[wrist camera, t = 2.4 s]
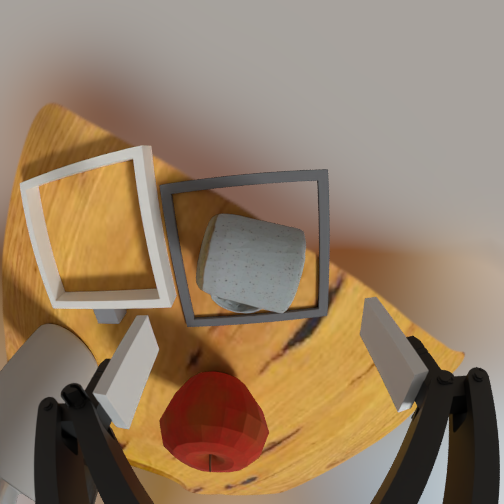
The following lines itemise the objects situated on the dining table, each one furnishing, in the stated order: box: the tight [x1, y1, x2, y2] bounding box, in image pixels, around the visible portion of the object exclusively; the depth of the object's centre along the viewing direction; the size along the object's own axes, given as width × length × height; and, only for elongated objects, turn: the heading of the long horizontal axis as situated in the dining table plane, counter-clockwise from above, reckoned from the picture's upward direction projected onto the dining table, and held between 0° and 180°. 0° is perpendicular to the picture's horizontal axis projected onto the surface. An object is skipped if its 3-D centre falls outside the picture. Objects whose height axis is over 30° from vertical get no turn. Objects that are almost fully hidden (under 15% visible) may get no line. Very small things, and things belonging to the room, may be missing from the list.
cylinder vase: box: [0, 324, 98, 501], centre depth 21 cm, size 12×12×25 cm
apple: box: [159, 371, 269, 472], centre depth 27 cm, size 12×12×14 cm
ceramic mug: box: [196, 214, 306, 313], centre depth 24 cm, size 11×8×8 cm
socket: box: [20, 145, 177, 324], centre depth 26 cm, size 17×18×2 cm
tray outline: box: [160, 169, 330, 327], centre depth 27 cm, size 16×16×1 cm
